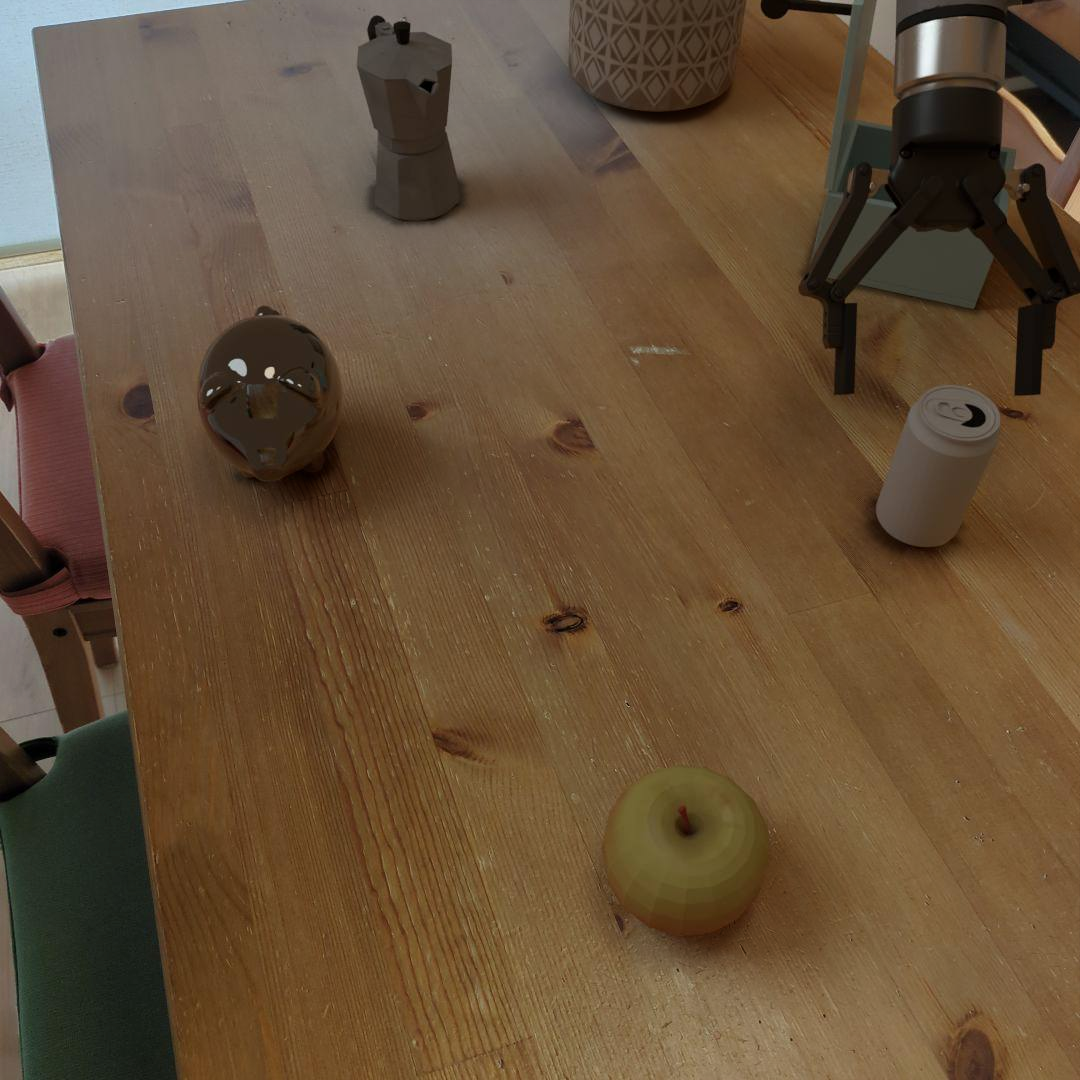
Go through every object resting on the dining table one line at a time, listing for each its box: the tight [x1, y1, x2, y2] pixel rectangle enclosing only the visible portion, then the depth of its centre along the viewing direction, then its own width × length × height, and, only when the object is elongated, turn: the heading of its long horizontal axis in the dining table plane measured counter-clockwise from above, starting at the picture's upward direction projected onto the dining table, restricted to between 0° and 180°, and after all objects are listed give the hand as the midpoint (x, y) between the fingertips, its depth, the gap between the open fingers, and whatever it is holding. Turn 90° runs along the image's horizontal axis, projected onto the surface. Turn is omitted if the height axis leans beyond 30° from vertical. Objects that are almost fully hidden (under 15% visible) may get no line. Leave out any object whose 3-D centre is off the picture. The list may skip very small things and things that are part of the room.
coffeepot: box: [356, 14, 460, 222], centre depth 108 cm, size 15×9×18 cm, turn 26°
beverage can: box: [875, 384, 1001, 548], centre depth 83 cm, size 6×6×12 cm
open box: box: [810, 119, 1017, 310], centre depth 106 cm, size 16×14×9 cm
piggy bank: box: [195, 305, 344, 482], centre depth 87 cm, size 11×15×12 cm
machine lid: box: [760, 0, 878, 191], centre depth 99 cm, size 16×14×9 cm
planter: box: [567, 0, 747, 112], centre depth 123 cm, size 19×19×16 cm
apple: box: [601, 764, 771, 937], centre depth 66 cm, size 10×10×8 cm
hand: (935, 395), depth 82 cm, fingers open, 13 cm apart
